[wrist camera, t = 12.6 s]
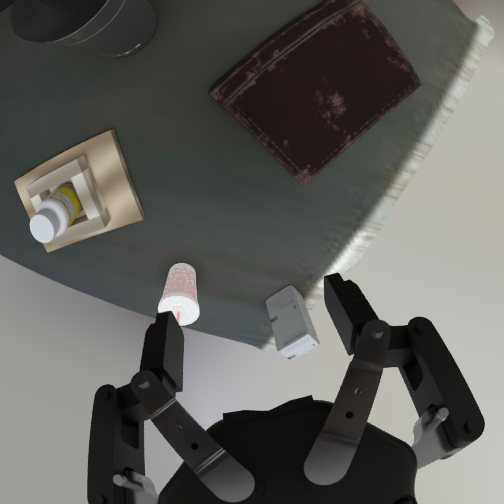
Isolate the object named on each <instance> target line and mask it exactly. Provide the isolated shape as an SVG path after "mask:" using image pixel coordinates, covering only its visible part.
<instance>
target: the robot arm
mask: <svg viewBox="0 0 504 504" xmlns="http://www.w3.org/2000/svg"><path fill="white" fill-rule="evenodd" d="M11 4H12V5H11ZM10 5H11V9H10V24H11V27H12V29H13V31H14V32H15V34H16V35H17V36H19V37H20V38H22V39H25V40H29V41H35V42H42V43H48V44H54V45H60V46H65V47H70V48H74V49H79V50H83V51H88V52H92V53H96V54H99V55H103V56H107V57H110V58H121V57H126V56H129V55H132V54H134V53H136V52H137V51H139V50H140V49H142V48H143V47H144V46H145V45H146V44H147V43H148V42H149V41H150V39H151V38H152V37H153V35H154V33H155V31H156V27H157V15H156V12H155V11H154V9H153V7H152V6H151V5H150V3H149V2H148V0H0V12H2V11H3V10H4V9H6V8H7V7H9V6H10ZM324 299H325V305H326V307H327V310H328V312H329V314H330V316H331V318H332V321H333V323H334V325H335V327H336V329H337V331H338V333H339V335H340V338H341V340H342V342H343V344H344V346H345V349H346V351H347V353H348V355H349V356H350V355H352V354H354V357H353V359H352V361H351V362H350V364H349V367H348V369H347V372H346V375H345V377H344V380H343V382H342V385H341V387H340V390H339V392H338V395H337V397H336V399H335V402H334V403H332V402H329V401H323V400H313V398H312V395H310V396H306V397H302V398H298V399H294V400H290V401H288V402H286V403H284V404H282V405H280V406H278V407H276V408H273V409H271V410H269V411H254V410H252V411H251V410H242V411H236V412H229V413H223V420H220V421H218V422H216V423H215V424H213V425H212V426H211V427H209V428H208V429H207V430H206V431H205V430H204V429H203V428H202V427H201V426H200V425H199V424H198V423H197V422H196V421H195V419H194V418H193V417H192V416H190V414H189V413H188V412H187V411H186V410H185V409H184V408H183V407H182V406H181V405H180V403H179V402H178V401H177V400H176V399H175V395H176V394H175V393H176V392H182V391H183V353H184V335H183V332H182V329H181V327H180V325H179V323H178V322H177V320H176V318H175V316H174V314H173V312H172V311H165V312H160V313H157V315H156V322H155V323H154V324H151V325H150V326H149V328H148V329H147V331H146V334H145V339H144V340H145V341H144V346H143V347H144V348H143V351H142V358H141V364H140V371H139V372H138V373H136V374H135V375H134V376H133V378H132V379H131V382H130V383H129V384H127V385H125V386H122V387H119V388H117V389H116V388H115V387H114V386H113V385H110V384H107V385H103V386H101V387H100V388H99V389H98V390H97V392H96V394H95V398H94V404H93V412H92V421H91V429H90V440H89V455H88V480H87V481H88V482H87V483H88V484H87V485H88V486H87V498H88V503H89V504H418V503H417V501H416V498H415V494H414V484H415V477H416V472H417V470H418V469H419V468H422V467H424V466H426V465H428V464H430V463H432V462H434V461H436V460H438V459H447V458H449V457H451V456H452V455H454V454H455V453H457V452H459V451H460V450H462V449H463V448H465V447H466V446H468V445H469V444H471V443H472V442H474V441H475V440H477V439H478V438H479V437H480V436H481V435H482V433H483V431H484V426H485V422H484V418H483V416H482V414H481V411H480V409H479V407H478V405H477V403H476V401H475V399H474V397H473V395H472V392H471V390H470V388H469V387H468V385H467V383H466V381H465V379H464V377H463V375H462V373H461V371H460V369H459V368H458V366H457V364H456V363H455V361H454V359H453V357H452V355H451V353H450V352H449V350H448V348H447V347H446V345H445V343H444V342H443V340H442V338H441V337H440V335H439V333H438V332H437V330H436V329H435V327H434V325H433V324H432V322H431V321H430V320H428V319H427V318H424V317H415V318H413V319H411V320H410V321H409V323H408V325H404V326H390V325H389V324H388V323H386V322H385V321H383V320H379V318H378V317H377V315H376V313H375V312H374V310H373V309H372V307H371V305H370V304H369V302H368V301H367V299H366V298H365V296H364V294H363V293H362V291H361V290H360V288H359V287H358V285H357V284H355V283H353V282H352V281H351V280H347V281H344V280H343V279H342V277H341V276H340V274H339V273H334V274H331V275H327V276H324ZM388 367H398V368H399V371H400V373H401V375H402V377H403V379H404V382H405V384H406V386H407V388H408V391H409V393H410V396H411V398H412V401H413V403H414V405H415V408H416V410H417V413H418V415H419V419H418V421H417V422H416V423H415V425H414V431H413V432H414V443H413V445H412V447H410V446H409V445H408V444H407V443H406V442H404V441H402V440H400V439H398V438H396V437H394V436H392V435H390V434H389V433H387V432H385V431H383V430H381V429H379V428H377V427H376V426H374V425H372V424H370V423H368V422H367V420H368V417H369V414H370V411H371V408H372V405H373V402H374V399H375V396H376V393H377V390H378V386H379V383H380V379H381V376H382V372H383V368H388ZM148 419H151V421H152V422H153V423H154V425H155V426H156V427H157V429H158V430H159V431H160V433H161V434H162V435H163V436H164V438H165V439H166V440H167V441H168V443H169V444H170V445H171V446H172V447H173V448H174V450H175V451H176V452H177V453H178V454H179V456H180V457H181V458H182V459H183V460H184V462H183V463H182V464H181V466H180V467H179V469H178V470H177V471H176V473H175V474H174V475H173V477H172V478H171V479H170V480H169V482H168V483H167V484H166V486H165V487H164V488H163V490H162V491H161V492H160V494H159V495H157V493H156V491H155V488H154V484H153V483H152V481H151V480H150V479H149V478H147V477H145V464H144V463H145V462H144V421H145V420H148Z"/></svg>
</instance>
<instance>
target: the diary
mask: <svg viewBox="0 0 504 504" xmlns="http://www.w3.org/2000/svg"><path fill="white" fill-rule="evenodd" d="M421 85H422V82H421V80H420V79H419V77H418V75H417V73H416V72H415V70H414V68H413V67H412V65H411V63H410V62H409V60H408V59H407V57H406V56H405V54H404V53H403V51H402V50H401V48H400V47H399V45H398V44H397V42H396V41H395V40H394V38H393V37H392V35H391V34H390V33H389V32H388V30H387V29H386V28H385V27H384V25H383V24H382V23H381V22H380V20H379V19H378V18H377V17H376V16H375V15H374V14H373V12H372V11H371V10H370V9H369V8H368V7H367V6H366V5H365V4H364V3H363V2H362V1H361V0H325V1H323V2H321V3H320V4H318V5H317V6H315V7H314V8H312V9H310V10H309V11H307V12H306V13H304V14H302V15H301V16H299V17H298V18H296V19H295V20H293V21H292V22H290V23H289V24H287V25H286V26H284V27H283V28H281V29H280V30H278V31H277V32H276V33H274V34H273V35H272V36H271V37H269V38H268V39H267V40H266V41H264V42H263V43H262V44H261V45H259V46H258V47H257V48H256V49H255V50H253V51H252V52H251V53H250V54H249V55H248V56H246V57H245V58H244V59H243V60H242V61H240V62H239V63H238V64H237V65H235V66H234V67H233V68H232V69H231V70H230V71H228V72H227V73H226V74H225V75H224V76H223V77H221V78H220V79H219V80H218V81H217V82H216V83H215V84H213V85H212V87H211V89H210V90H209V94H210V95H211V96H212V97H213V98H215V99H216V100H217V101H218V102H219V103H220V104H221V105H222V106H223V107H225V108H226V109H227V110H228V111H229V112H230V113H231V114H232V115H233V116H234V117H235V118H236V119H238V120H239V121H240V122H241V123H242V124H243V125H244V126H245V127H246V128H247V129H248V130H249V131H250V132H251V133H252V134H253V135H254V136H255V137H256V138H257V139H258V140H259V141H260V142H261V143H262V144H263V145H264V146H265V147H266V148H267V149H268V150H269V151H270V152H271V153H272V154H273V155H274V156H275V157H276V158H277V159H278V160H279V161H280V162H281V163H282V164H283V165H284V166H285V167H286V168H287V169H288V170H289V171H290V172H291V173H292V175H293V176H294V177H295V178H296V179H297V180H298V181H299V182H300V183H301V184H302V185H303V186H305V185H306V184H307V183H308V182H309V181H310V180H312V179H313V178H314V177H315V176H316V175H317V174H318V173H319V172H321V171H322V170H323V169H324V168H325V167H326V166H327V165H329V164H330V163H331V162H332V161H333V160H334V159H335V158H337V157H338V156H339V155H340V154H341V153H342V152H343V151H345V150H346V149H347V148H348V147H349V146H350V145H351V144H352V143H354V142H355V141H356V140H357V139H358V138H359V137H360V136H362V135H363V134H364V133H365V132H366V131H367V130H368V129H370V128H371V127H372V126H373V125H375V124H376V123H377V122H378V121H379V120H381V119H382V118H383V117H384V116H386V115H387V114H388V113H389V112H391V111H392V110H393V109H394V108H396V107H397V106H398V105H399V104H400V103H401V102H403V101H404V100H405V99H406V98H407V97H408V96H409V95H411V94H412V93H413V92H414V91H415V90H416V89H418V88H419V87H420V86H421Z"/></svg>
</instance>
